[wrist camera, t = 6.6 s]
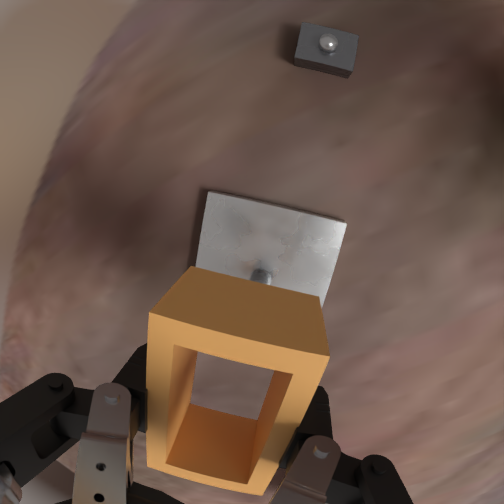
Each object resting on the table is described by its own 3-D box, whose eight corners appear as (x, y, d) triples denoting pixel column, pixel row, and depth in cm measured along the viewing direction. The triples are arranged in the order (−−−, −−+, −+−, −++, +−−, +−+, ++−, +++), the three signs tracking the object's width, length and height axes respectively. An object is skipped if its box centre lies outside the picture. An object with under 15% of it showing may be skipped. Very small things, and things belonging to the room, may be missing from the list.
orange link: (319, 296, 12) (329, 356, 8) (269, 433, 14) (261, 495, 10) (190, 265, 12) (149, 312, 8) (173, 409, 14) (147, 466, 11)
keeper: (344, 220, 23) (361, 241, 17) (305, 346, 26) (307, 393, 20) (212, 190, 23) (185, 200, 17) (191, 318, 26) (166, 359, 21)
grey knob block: (353, 44, 19) (361, 31, 16) (347, 78, 20) (355, 68, 17) (301, 32, 19) (302, 17, 16) (294, 65, 20) (294, 53, 17)
